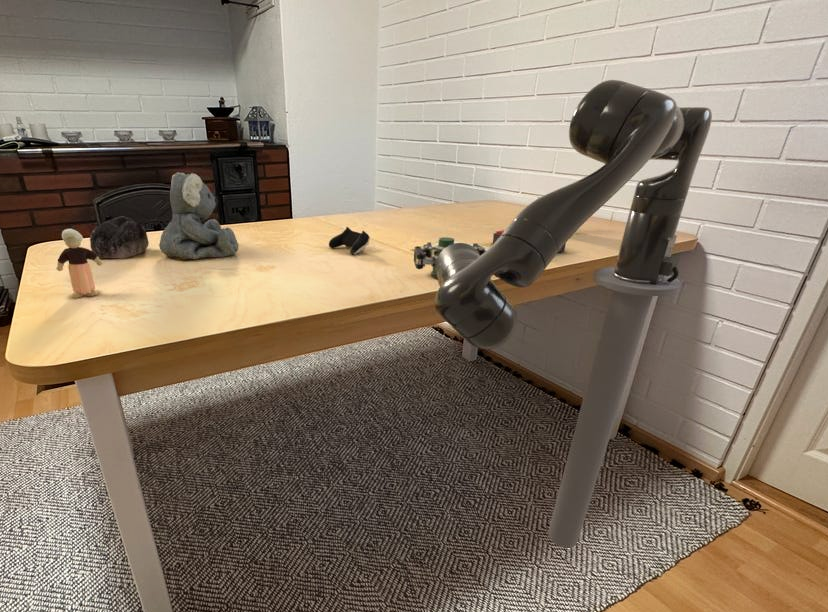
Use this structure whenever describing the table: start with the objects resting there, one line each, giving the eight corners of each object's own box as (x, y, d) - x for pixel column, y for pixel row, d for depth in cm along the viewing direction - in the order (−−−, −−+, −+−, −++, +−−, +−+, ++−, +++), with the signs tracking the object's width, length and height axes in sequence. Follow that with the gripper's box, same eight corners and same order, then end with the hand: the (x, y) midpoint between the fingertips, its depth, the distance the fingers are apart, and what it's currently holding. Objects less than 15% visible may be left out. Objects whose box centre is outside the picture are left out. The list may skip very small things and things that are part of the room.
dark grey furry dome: (88, 254, 121) (75, 216, 116) (141, 242, 128) (131, 205, 123) (101, 269, 113) (87, 229, 107) (157, 256, 119) (146, 217, 114)
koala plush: (242, 256, 117) (233, 172, 108) (168, 266, 109) (151, 176, 100) (223, 242, 130) (213, 166, 121) (155, 250, 122) (139, 170, 113)
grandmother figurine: (67, 301, 88) (47, 233, 82) (64, 295, 91) (44, 229, 85) (111, 293, 92) (94, 227, 86) (107, 288, 95) (91, 224, 89)
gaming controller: (361, 262, 119) (376, 240, 120) (352, 251, 116) (367, 229, 116) (335, 254, 126) (349, 233, 127) (325, 243, 123) (340, 222, 124)
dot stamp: (460, 276, 101) (464, 238, 98) (446, 281, 98) (449, 243, 94) (440, 271, 105) (443, 235, 101) (426, 276, 101) (428, 239, 98)
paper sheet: (499, 250, 121) (499, 248, 121) (465, 261, 111) (465, 260, 111) (448, 240, 131) (448, 238, 131) (412, 250, 121) (412, 248, 121)
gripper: (414, 294, 76) (412, 266, 90) (504, 297, 74) (487, 268, 89) (417, 247, 72) (414, 227, 87) (511, 250, 71) (492, 228, 85)
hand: (451, 248), depth 88 cm, fingers open, 8 cm apart
